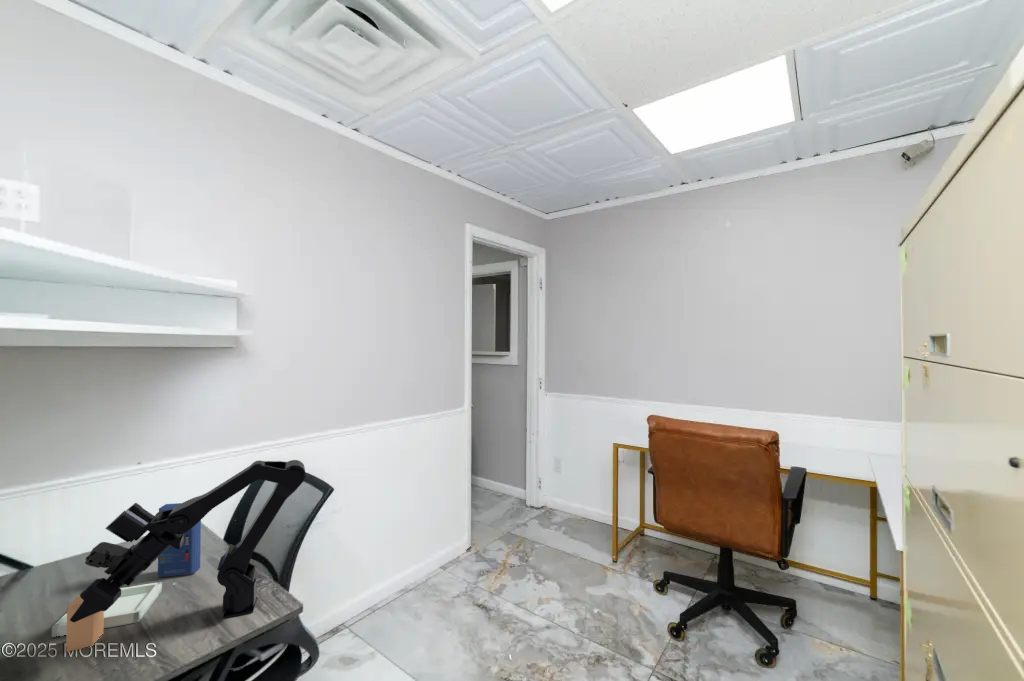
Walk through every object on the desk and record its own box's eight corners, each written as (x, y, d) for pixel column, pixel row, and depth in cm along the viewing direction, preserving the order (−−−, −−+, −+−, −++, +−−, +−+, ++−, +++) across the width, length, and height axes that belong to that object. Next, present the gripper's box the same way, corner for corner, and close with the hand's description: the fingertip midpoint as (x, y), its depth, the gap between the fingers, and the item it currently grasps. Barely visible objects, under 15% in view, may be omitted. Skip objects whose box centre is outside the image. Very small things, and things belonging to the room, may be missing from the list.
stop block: (103, 633, 99) (104, 590, 99) (92, 646, 95) (93, 601, 95) (78, 638, 98) (79, 594, 98) (66, 651, 93) (67, 606, 94)
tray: (161, 590, 116) (162, 581, 116) (138, 622, 103) (138, 611, 103) (86, 603, 111) (86, 593, 111) (51, 638, 98) (51, 627, 98)
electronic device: (155, 579, 122) (156, 509, 122) (166, 569, 127) (167, 502, 127) (192, 575, 124) (193, 507, 124) (201, 566, 129) (202, 500, 129)
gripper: (134, 515, 107) (76, 567, 103) (93, 549, 90) (21, 613, 86) (172, 542, 110) (117, 593, 106) (139, 579, 92) (71, 643, 88)
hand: (84, 608), depth 96 cm, fingers open, 9 cm apart
